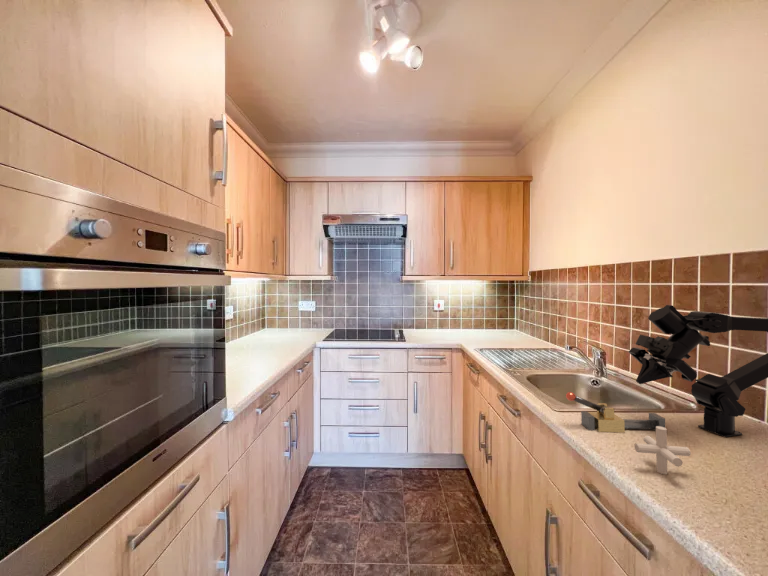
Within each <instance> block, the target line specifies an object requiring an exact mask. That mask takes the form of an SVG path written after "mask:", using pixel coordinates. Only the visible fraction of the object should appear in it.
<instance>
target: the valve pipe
mask: <svg viewBox="0 0 768 576" xmlns="http://www.w3.org/2000/svg"><path fill="white" fill-rule="evenodd" d="M596 404H597V405H599V406H600V407H601V406H606V407H607V408H604V415H603V414H602V413H601V412H600V411H597V410H596V411H585V410H584V411H583V410H581V411H580V414H581V418H580V419H581V420H580V421H581V422H580V423H581V425H582V426H583V427H584V428H585V429H586V430H588V431H595V430H596V432H598V433H623V434H624V433H625V432H626V431H625V430H652V431H653V430H654V431H656V426H661V427H664V428H666V418H665V417H663V416H661V415H659V414H657V413H655V412H648V419H632V418H631V419H625V418H622V417H620V416H619V415H617V414H616V413H615V408H614V407H608V403H606V402H605V403H602V402H599V403H598V402H597V403H596Z"/></svg>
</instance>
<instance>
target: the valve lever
mask: <svg viewBox="0 0 768 576" xmlns="http://www.w3.org/2000/svg"><path fill="white" fill-rule="evenodd" d="M565 397H566V400H567V401H569V402H576V403H578V404H581V405H583V406H586V407H588V408H591V409H592V410H595V411H596V412H597V411H600V412H601V413H602V414H603V415H604V408H608V406H607V407H606V406H601V407H600V406H599V405H597V403H594V402H592V401H589V400H587V399H585V398H582V397H580V396H578V395H576V394H575V393H574V392H571V391H569V392H568V391H567V393H566V395H565Z"/></svg>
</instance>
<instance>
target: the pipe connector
mask: <svg viewBox="0 0 768 576" xmlns="http://www.w3.org/2000/svg"><path fill="white" fill-rule="evenodd" d="M667 432H668V429H667V428H666V427H665V428H664V427H661V426H656V430H655V439H654V438H653V437H651V436H650V435H645V436H643V438H642V439H643V442H644V443H634V445H633V446H634V450H635V451H636V453H643V454H656V459H655V460H656V472H657V473H658V474H662V475H668V461H669V463H671V464H672V465H674V466H675V467H678V468H679V467H682V465H683V462H684V461H683V460H682V459H681V458H680V457H679V456H681V457H683V456H684V457H690V456H691V455H692V453H691V452H692V451H691V450H690V448H689V447H687V446H677V445H675V446H674V445H668V436H667V435H668V434H667Z"/></svg>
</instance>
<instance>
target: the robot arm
mask: <svg viewBox="0 0 768 576" xmlns="http://www.w3.org/2000/svg"><path fill="white" fill-rule="evenodd" d="M647 319H648V321H649V322H651V323H652V324H653V325H654V326H655V327H657V328H658V329H659V331H661V332H662V333H663V334H664V335H670V336H669V337H668V338H665V337H663V336H658V335H657V336H656V337H652V336H649V335H648V336H647V335H645V334H644V335H643V334H639V336H638V337H637V340H636V342H635V345H637V346H641V347H643V348H639V347H631V348H630V350H628V353H629V355H631V356H632V357H633V358H634V359H636V361H637V362H639V363H640V364H641V367H640V371H639V373H638V375H637V378H636V379H635V382H636V383H637V384H639V385H644V384H646V383H650V382H653V381H654V382H655V381H657V380H661V379H667V378H673V377H674V375H672V374H673V373H674V372H679V373H680V374H681V379H683V380H685V381H687V382H691V383H692V382H693V381H695V382H694V383H693V384H692V385H691V390H690V391H691V392H690V393H691V394H692V395H691V396H692V397H693V398H694V399H695V401H696V404H697V405H700V406H703V407H704V408H703V424H699V425H697V427H698V428H700V429H702V430H704V431H707V432H710V433H713V434H715V435H718V436H721V437H722V438H723V437H724V438H729V437H734V436H736V437H737V436H742V435H743V433H742V432H740V431H738V430H736V417H739V416H740V417H743V416H744V414H745V411H746V407H744V406H743V405H742V404H741V403H740V402H739V401H738V400H739V399H740V397H741V393H742V392H743V391H745V390H746V389H747V390H748V388H750V387H752V386H754V385H757V384H759V383H761V382H763V381H764V380H766V379H768V352H767V353H765V354H763V355H761V356H759V357H757V358H756V359H753V360H751V361H749V362H748V363H745V364H744V365H742V366H740V367H739V368H737V369H734V370H733V371H730V372H729V373H726V374H725V375H722V376H719V375H718V376H717V375H715V374H710V373H708V374H705V375H704V376H703V377H701V378H698V372H697V371H696V369H694V368H693V367H692V366H691V365H689V364H688V363H687V362H686V361H685V360H686V359H687V360H689V359H690V358H691V357H692V356H691V355H690V352H692V351H693V350H694V349H695V348H696V347H697V346H698V345H700V346H701V345H702V346H705V347H710V346H711V343H710V342H711V341H710V337H709V336H707V335H703V334H702V333H700V332H703V333H709V334H720V333H727V332H730V331H750V332H751V331H752V332H767V333H768V317H752V316H751V317H749V316H747V317H746V316H731V315H729V314H722V313H719V312H710V311H697V310H695V311H690V313H689V314H686V315H684V314H682V313H681V312H679V311H678V309H676V307H675V306H674V305H673V304H672V305H670V304H666V305H665V306H664V307H660V308H658V309H656V310H654V311H652V312H650V314H649V316H648V318H647ZM646 349H647V350H646ZM683 359H685V360H683ZM697 378H698V379H697Z"/></svg>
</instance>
